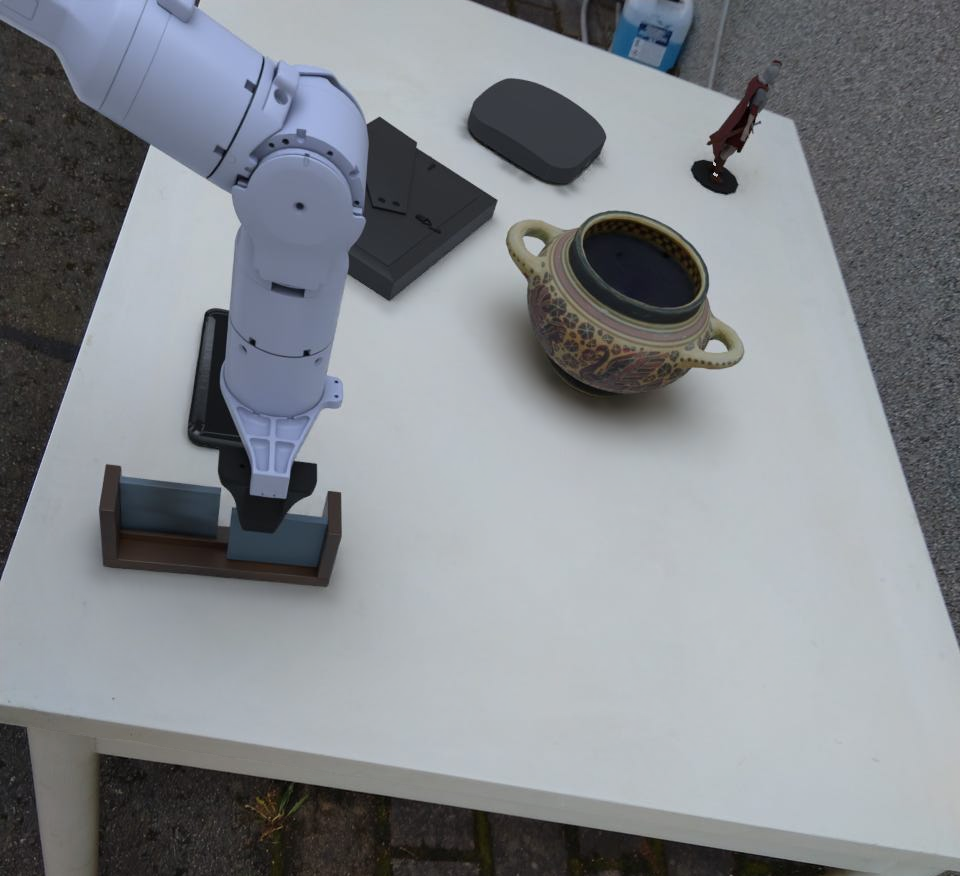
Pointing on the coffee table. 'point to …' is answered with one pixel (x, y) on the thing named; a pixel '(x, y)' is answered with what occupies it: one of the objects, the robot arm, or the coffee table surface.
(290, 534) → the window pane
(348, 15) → the coffee table surface
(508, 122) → the media streaming box
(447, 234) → the picture frame
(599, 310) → the ceramic bowl
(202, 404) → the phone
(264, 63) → the robot arm
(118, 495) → the window frame
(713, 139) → the figurine
